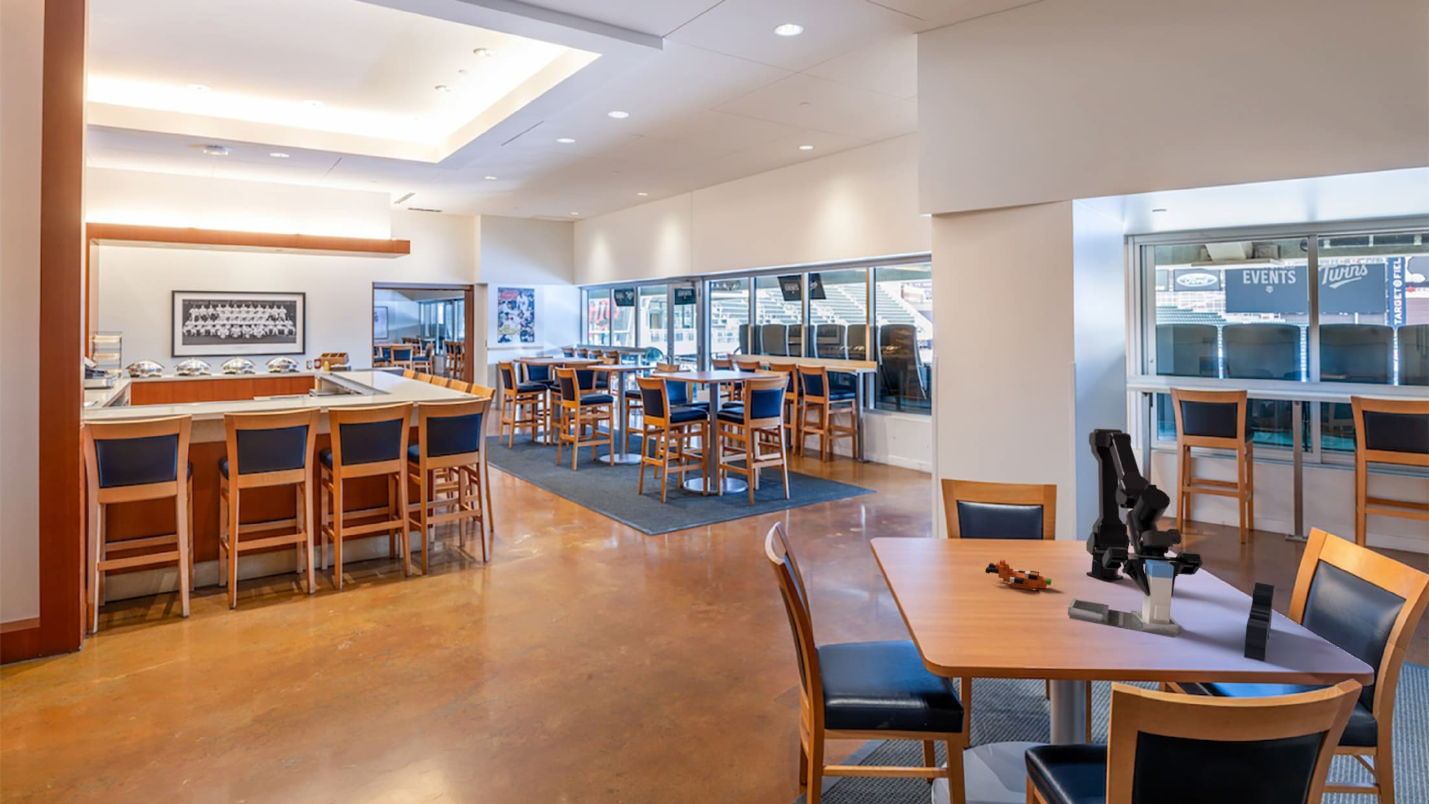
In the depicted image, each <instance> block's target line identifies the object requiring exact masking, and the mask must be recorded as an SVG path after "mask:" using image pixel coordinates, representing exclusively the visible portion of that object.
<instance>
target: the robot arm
mask: <svg viewBox="0 0 1429 804" xmlns="http://www.w3.org/2000/svg"><path fill="white" fill-rule="evenodd" d="M1088 444H1089V446H1090V453H1091V454H1092V455H1093V457H1094V458H1095V460H1096V461H1097V464H1098V466H1097V467H1098V471H1097V472H1098V473H1097V474H1098V508H1099V509H1098V518H1097V519H1096V520H1095V522H1094V523H1093V525H1092V532H1090V535H1089V536H1088V539H1087V541H1085V543H1086V544H1085V545H1086V551H1087V553H1088V554H1090V555H1091V556H1092V560H1091V571H1088V572H1086V575H1087V576H1090V577H1093V578H1096V579H1100V580H1102V581H1105V582H1112V581H1117V580H1122V579H1124V576H1123V575H1120V574H1119V569H1120V568H1121V567H1122V570H1121V572H1122V573H1123V574H1126V575H1127V576H1129V577H1130V578H1131V580H1133V581H1134V582H1135V584H1136V585H1137V586H1138V587H1139V588H1140V590H1141V591H1142V592H1143V594H1144V593H1145V594H1146V596H1149V595H1150V589H1149V585H1148V582H1147V579H1146V575H1145V560H1161V561H1167V562H1168V563H1170V564H1171V565H1172V566H1174V570H1173V579H1172V593H1171V598H1173V596H1174V589H1175V588H1174V587H1175V582H1176V579H1177V577H1178V576H1179V575H1184V576H1185V575H1186V576H1188V575H1189V576H1193V575H1196V573H1197V572H1198V570H1199V569H1200V568H1201V567H1202V565H1203V564H1204V561H1203V556H1201V555H1200V553H1198V552H1195V551H1179V552H1178V554H1176V556H1175V557H1173V556H1165V554H1168V553H1169V551H1170V549H1169V548H1172V547H1174V545H1175V546H1176V545H1180V544H1181V543H1182V535H1181V532H1180V530H1179V528H1170V529H1166V530H1159V528H1158V525H1157V522H1158V521H1160V520H1161V518H1162V517H1163V516H1164V514H1165V512H1166V511H1167V509H1168V507H1169V505H1170V504H1171V499H1170V497H1169V496H1168V494H1167V493H1166V492H1165V491H1163V490H1161V489H1159V488H1158V487H1157V484H1150V481H1149V480H1148V479H1146V478H1145V477H1143V476H1142V475H1141V472H1140V470H1139V466H1138V463H1137V461H1136V456H1135V454H1134V450H1133V448H1132V437H1131V434H1129V433H1127V432H1123V431H1122V430H1121V429H1119V428H1118V429H1116V428H1115V429H1114V428H1113V429H1112V428H1094V430H1093V432H1090V433H1089V435H1088ZM1119 507H1120V508H1121V509H1125V510H1126V509H1127V510H1129V511H1128V512H1127V513H1126V520H1125V523H1123V521H1122V520H1121V518H1120V508H1119ZM1128 532H1129V533H1130V534H1129V535H1130V537H1129V535H1128ZM1130 539H1131V540H1130ZM1129 547H1132V548H1133V552H1129ZM1122 565H1123V566H1122Z"/></svg>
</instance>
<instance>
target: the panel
mask: <svg viewBox="0 0 1429 804" xmlns="http://www.w3.org/2000/svg"><path fill="white" fill-rule="evenodd" d="M1075 608H1076V609H1081V610H1086V611H1091V612H1097V613H1102V612H1101V611H1096V610H1090V609H1085V608H1080V607H1075ZM1069 619H1070V620H1076V621H1082V622H1087V623H1093V624H1097V625H1103V626H1109V627H1114V628H1120V629H1124V630H1130V631H1135V632H1140V633H1141V632H1142V633H1146V634H1150V635H1151V634H1152V635H1158V636H1161V637H1162V636H1163V637H1167V638H1173V639H1175V638H1176V634H1175V633H1166V632H1155V631H1143V630H1142V629H1141V628H1140V627H1139V626H1138V625H1137V624H1136V623H1135V622H1134V621H1133V620H1132V618H1131V612H1126V611H1121V610H1116V609H1110V608H1109V611H1108V615H1107V617H1106V620H1105V622H1101V621H1096V620H1091V619H1086V618H1081V617H1076V616H1071V615H1069Z"/></svg>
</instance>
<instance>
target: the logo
mask: <svg viewBox="0 0 1429 804" xmlns="http://www.w3.org/2000/svg"><path fill="white" fill-rule="evenodd" d="M1274 588H1275V585H1273V584H1272V585H1271V584H1267V583H1261V582H1254V589H1253V590H1252V602H1251V607H1250V611H1249V614H1248V618H1247V621H1246V626H1245V627H1246V630H1245V639H1244V640H1245V641H1244V653H1243V654H1244V655H1243V658H1248V659H1251V660H1256V661H1259V662H1263V663H1264V662H1266V656H1267V652H1268V651H1267V650H1268V644H1269V640H1270V633H1271V628H1272V617H1273V616H1272V614H1273V604H1274V603H1273V602H1274V592H1275V591H1274V590H1275V589H1274Z"/></svg>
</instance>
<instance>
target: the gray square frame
mask: <svg viewBox="0 0 1429 804" xmlns="http://www.w3.org/2000/svg"><path fill="white" fill-rule="evenodd" d="M1130 613H1131V618H1132V620H1133V621H1134V622H1135V623H1136V624H1137V625H1138V626H1139V627H1140V628H1141V629H1142V630H1143V631H1155V632H1166V633H1174V634H1175V635H1177V634H1178V635H1181V634H1182V625H1181V624H1179V623H1178V622H1177V621H1176V620H1175V618H1173V617H1172V616H1171V615H1170V621H1169V624H1160V623H1148V622H1145V621H1144V620H1143V619H1142V611H1140V610H1139V611H1138V610H1130Z"/></svg>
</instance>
